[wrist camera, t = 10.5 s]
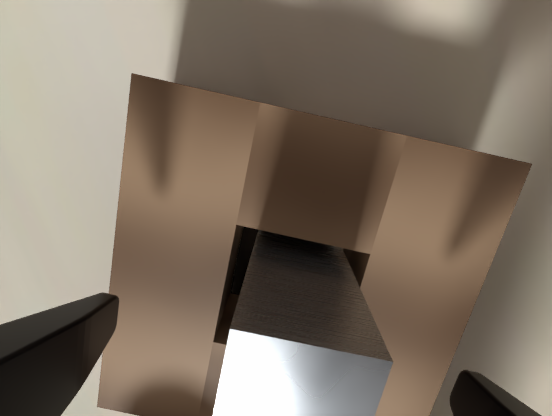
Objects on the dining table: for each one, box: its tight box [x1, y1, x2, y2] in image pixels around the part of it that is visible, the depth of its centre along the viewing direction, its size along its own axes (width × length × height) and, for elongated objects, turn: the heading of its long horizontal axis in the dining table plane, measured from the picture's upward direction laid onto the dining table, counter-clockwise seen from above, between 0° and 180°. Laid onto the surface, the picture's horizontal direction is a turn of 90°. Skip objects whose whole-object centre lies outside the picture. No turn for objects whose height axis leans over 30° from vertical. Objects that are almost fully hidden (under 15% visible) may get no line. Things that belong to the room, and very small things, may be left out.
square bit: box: [213, 230, 393, 416], centre depth 11 cm, size 3×3×8 cm
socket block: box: [97, 73, 532, 416], centre depth 13 cm, size 12×12×4 cm
